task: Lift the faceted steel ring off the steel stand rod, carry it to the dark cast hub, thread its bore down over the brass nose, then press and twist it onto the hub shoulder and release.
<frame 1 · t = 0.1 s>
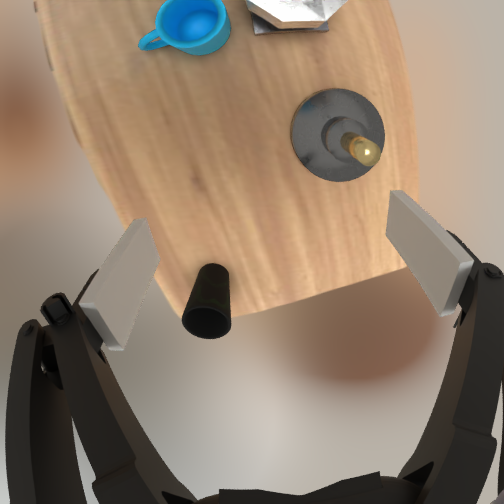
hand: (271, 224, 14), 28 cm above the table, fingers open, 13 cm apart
mug: (188, 35, 29), on the table
cup: (214, 274, 52), on the table
stand: (285, 3, 26), on the table
hub: (337, 133, 37), on the table
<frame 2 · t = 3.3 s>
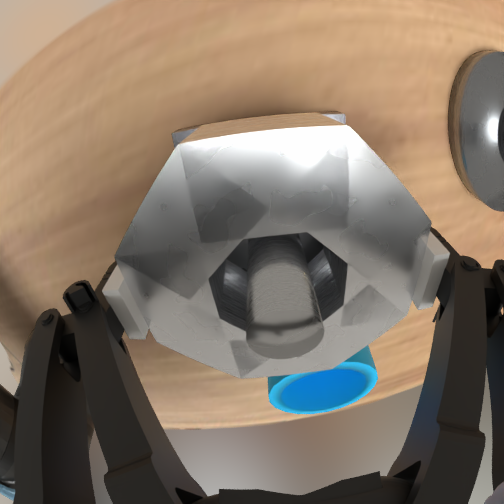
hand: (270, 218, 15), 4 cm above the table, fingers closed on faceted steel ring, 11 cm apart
mug: (311, 325, 26), on the table
stand: (266, 191, 18), on the table
hub: (501, 129, 14), on the table
faceted steel ring: (273, 236, 13), point 6 cm above the table, touching gripper, stand
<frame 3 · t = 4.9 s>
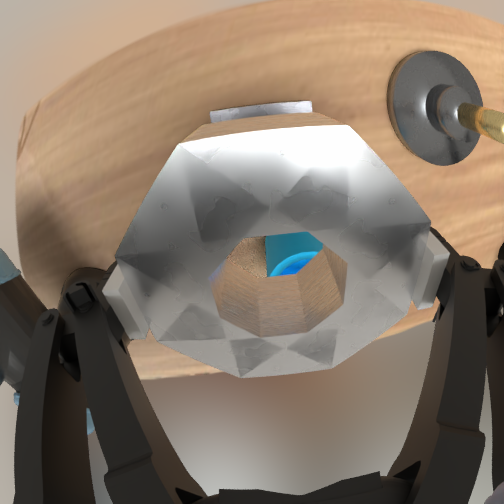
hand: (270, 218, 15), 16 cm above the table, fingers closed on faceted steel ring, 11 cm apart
mug: (300, 253, 36), on the table
stand: (265, 149, 28), on the table
hub: (435, 106, 24), on the table
faceted steel ring: (273, 236, 13), point 18 cm above the table, touching gripper
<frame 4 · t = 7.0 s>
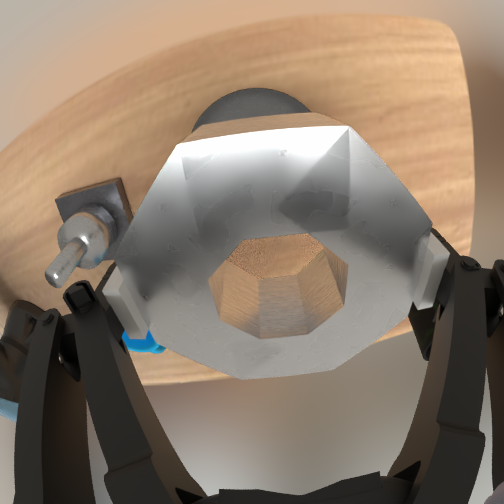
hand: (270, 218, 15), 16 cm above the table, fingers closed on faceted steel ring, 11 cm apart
mug: (152, 299, 40), on the table
cup: (413, 288, 40), on the table
stand: (100, 221, 32), on the table
hub: (257, 152, 28), on the table
faceted steel ring: (273, 237, 13), point 18 cm above the table, touching gripper
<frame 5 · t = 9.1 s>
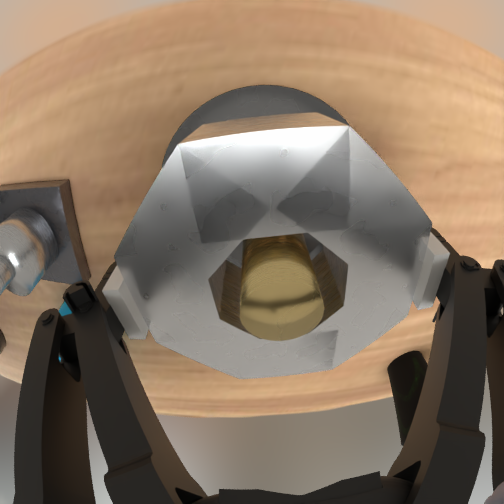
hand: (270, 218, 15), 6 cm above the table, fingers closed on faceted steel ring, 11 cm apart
cup: (404, 361, 33), on the table
stand: (41, 230, 21), on the table
hub: (265, 183, 19), on the table
faceted steel ring: (273, 237, 13), point 8 cm above the table, touching gripper
when the fingers open (4 cm above the table, at t = 10.8 s): faceted steel ring stays where it is, resting on hub.
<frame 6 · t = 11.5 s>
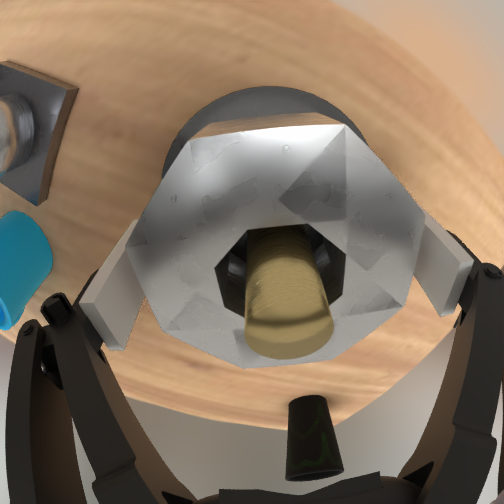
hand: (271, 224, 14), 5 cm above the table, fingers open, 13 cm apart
mug: (27, 258, 23), on the table
cup: (307, 402, 36), on the table
stand: (21, 127, 15), on the table
hub: (269, 188, 19), on the table
faceted steel ring: (275, 230, 14), point 6 cm above the table, touching hub
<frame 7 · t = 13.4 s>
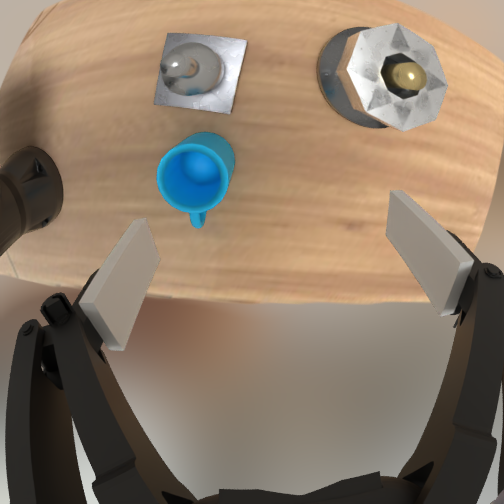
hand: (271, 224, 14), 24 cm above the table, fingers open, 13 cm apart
mug: (205, 173, 37), on the table
stand: (200, 71, 29), on the table
hub: (368, 76, 29), on the table
faceted steel ring: (386, 76, 23), point 6 cm above the table, touching hub
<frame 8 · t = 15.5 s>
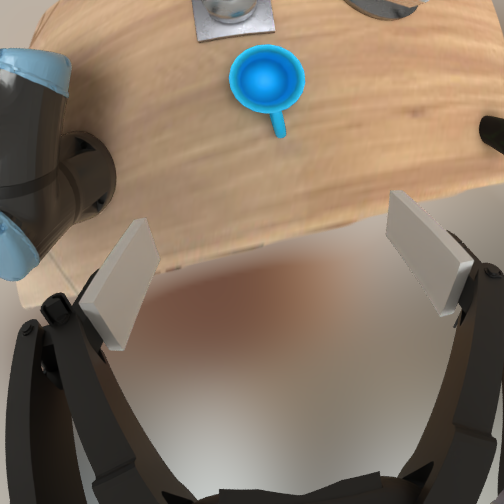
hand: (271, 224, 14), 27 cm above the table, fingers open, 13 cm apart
mug: (267, 93, 33), on the table
cup: (487, 129, 33), on the table
stand: (232, 6, 26), on the table
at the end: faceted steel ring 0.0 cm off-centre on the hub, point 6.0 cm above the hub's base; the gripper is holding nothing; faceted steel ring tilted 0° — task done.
